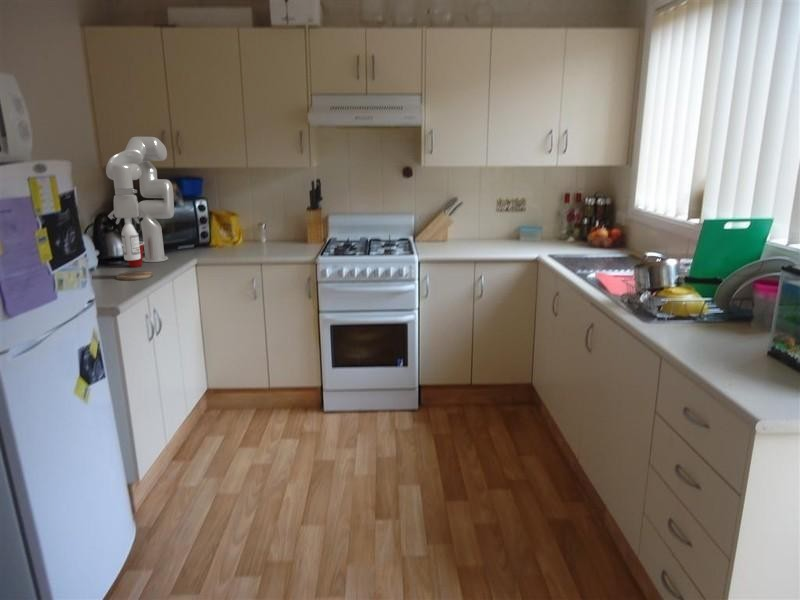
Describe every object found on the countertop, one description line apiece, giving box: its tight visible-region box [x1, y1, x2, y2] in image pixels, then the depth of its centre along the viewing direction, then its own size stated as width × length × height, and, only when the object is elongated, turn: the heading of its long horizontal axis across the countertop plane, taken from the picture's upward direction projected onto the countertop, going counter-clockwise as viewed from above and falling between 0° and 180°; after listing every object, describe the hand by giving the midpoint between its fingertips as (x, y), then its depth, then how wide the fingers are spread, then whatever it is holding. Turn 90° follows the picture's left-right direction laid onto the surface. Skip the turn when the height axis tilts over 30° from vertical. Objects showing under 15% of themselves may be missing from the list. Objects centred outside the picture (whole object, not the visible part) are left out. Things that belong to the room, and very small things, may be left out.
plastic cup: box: [120, 240, 144, 268], centre depth 276 cm, size 11×11×12 cm
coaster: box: [116, 270, 153, 282], centre depth 256 cm, size 15×15×1 cm
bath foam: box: [120, 218, 141, 262], centre depth 251 cm, size 7×7×20 cm
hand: (129, 232), depth 250 cm, fingers closed on bath foam, 6 cm apart
